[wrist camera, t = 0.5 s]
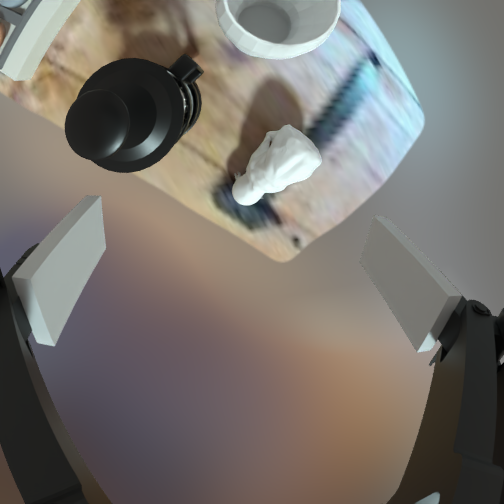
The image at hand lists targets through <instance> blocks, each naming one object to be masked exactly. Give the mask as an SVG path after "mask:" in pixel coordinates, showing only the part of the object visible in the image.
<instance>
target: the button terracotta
mask: <svg viewBox="0 0 504 504" xmlns="http://www.w3.org/2000/svg"><path fill="white" fill-rule="evenodd" d="M5 35H6V28H5V25H4V24H3V23H1V22H0V47H1V46H2V44H3V42H4V39H5Z"/></svg>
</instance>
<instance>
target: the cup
mask: <svg viewBox="0 0 504 504" xmlns="http://www.w3.org/2000/svg"><path fill="white" fill-rule="evenodd" d="M340 11H341V0H216V14H217V18H218V22H219V26H220V27H221V29H222V30H223V32H224V34H225V35H226V37H227V38H228V39H229V40H230V41H231V42H233V43H234V45H235V46H236V47H237V48H238V49H239V50H240V51H242V52H244V53H246V54H248V55H251V56H254V57H262V58H267V59H278V60H280V59H287V58H294V57H297V56H299V55H302V54H304V53H307V52H309V51H312V50H314V49H315V48H317V47H318V46H319V45H321V44H322V43H324V42H325V40H326V39H327V38H328V36H329V35H330V34H331V33H332V31H333V29H334V27H335V25H336V23H337V21H338V18H339V15H340Z"/></svg>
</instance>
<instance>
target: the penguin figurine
mask: <svg viewBox="0 0 504 504" xmlns="http://www.w3.org/2000/svg"><path fill="white" fill-rule="evenodd" d="M270 141H272V144H271V146H270V147H269V143H270ZM321 162H322V157H321V156H320V154H319V151H318V149H317V148H316V147H315V145H314V144H313V142H312V141H311V140H310V139H309V138H307V137H306V136H305V135H304V134H303V133H302V132H300V131H299V130H297V129H295V128H293V127H292V126H291V125H290V124H289V125H284V126H283V127H282V128H281V129H280V130H278V131H269V132H267V133H266V137H265V139H264V141H263V142H262V143H261V145H260V146H259V147H258V149H257V150H256V151H255V152H254V153H253V154H252V155H251V157H250V161H249V163H248V166H247V168H246V173H245V174H244V175H243V176H241V175H240V174H239V172H238V176H237V175H235V174H234V175H235V177H236V176H237V177H236V178H235V179H236V181H235V183H234V185H233V188H232V194H233V197H234V199H235V200H236V201H237V202H238V203H239V204H242V205H251V204H254V203H256V202H257V201H258V200H259V199H260V198H261V197H262V195H263V194H264V193H274V192H279V191H281V190H283V189H284V188H285V187H286V186H287V185H290V184H292V183H295V182H299V181H302V180H305V179H306V178H308V177H309V176H310V175H311V174H312V173H313V171H314V170H315V169H316V168H317V167H318V166H319V165H320V164H321ZM239 175H240V176H239Z"/></svg>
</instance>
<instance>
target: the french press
mask: <svg viewBox="0 0 504 504" xmlns="http://www.w3.org/2000/svg"><path fill="white" fill-rule="evenodd" d="M203 72H204V71H203V70H202V69H201V67H200V66H199V65H198V64H197V63H196V62H195V61H193V60H192V59H191V58H190V57H189V56H188V55H186V54H183V55H182V56H181V57H180V58H179V59H178V60H177V61H176V62H175V63H174V64H173V65H172V66H171V67H170V68H169V69H168V68H165V67H163V66H161V65H158V64H155V63H153V62H150V61H148V60H144V59H138V58H128V59H121V60H117V61H113V62H111V63H109V64H107V65H105V66H103V67H101V68H100V69H99V70H97V71H96V72H95V73H93V75H92V76H91V77H90V78H89V79H88V80H87V81H86V82H85V84H84V85H83V87H82V88H81V90H80V92H79V94H78V97H77V99H76V100H75V102H74V103H73V104H72V106H71V107H70V109H69V111H68V113H67V116H66V121H65V134H66V138H67V141H68V143H69V145H70V147H71V148H72V149H73V151H74V152H75V153H77V154H78V155H79V156H81V157H83V158H85V159H88V160H91V161H93V162H94V163H95V164H97V165H98V166H100V167H102V168H104V169H107V170H109V171H114V172H120V173H121V172H122V173H130V172H136V171H140V170H143V169H145V168H148V167H150V166H152V165H154V164H155V163H157V162H158V161H160V160H161V159H162V158H163V157H164V156H165V155H166V154H167V153H168V152H169V151H170V150H171V148H172V147H173V146H174V144H176V143H177V142H178V140H179V139H180V138H181V137H182V136H183V135H184V134H185V133H186V132H188V131H189V130H190V129H191V128H192V127H193V125H194V124H195V123H196V121H197V119H198V117H199V115H200V111H201V105H202V101H201V94H200V91H199V89H198V87H197V85H196V83H195V82H194V81H195V80H196V79H198V78H199V77H200V76H201V75H202V74H203Z"/></svg>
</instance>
